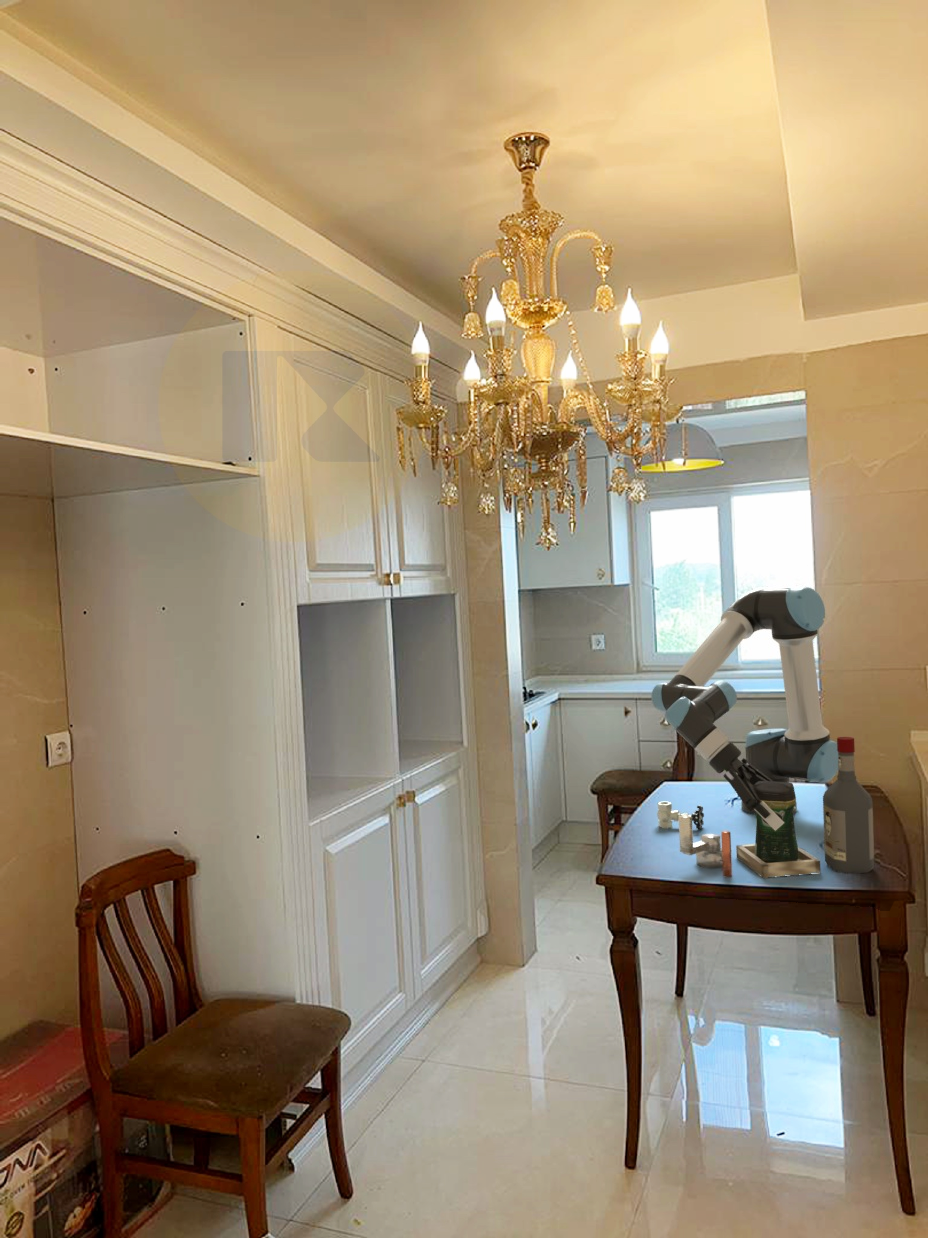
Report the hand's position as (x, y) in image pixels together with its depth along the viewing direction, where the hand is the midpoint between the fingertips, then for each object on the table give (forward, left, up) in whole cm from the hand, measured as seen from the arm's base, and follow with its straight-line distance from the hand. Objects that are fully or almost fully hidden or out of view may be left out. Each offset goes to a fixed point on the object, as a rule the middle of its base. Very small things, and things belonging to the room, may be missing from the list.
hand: (786, 819), depth 210 cm
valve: (+13, -37, -12) cm, 41 cm away
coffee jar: (+2, -1, -10) cm, 10 cm away
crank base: (+16, -3, -11) cm, 20 cm away
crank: (+19, -4, -8) cm, 21 cm away
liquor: (-13, +4, -11) cm, 18 cm away
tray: (+2, -1, -11) cm, 11 cm away
